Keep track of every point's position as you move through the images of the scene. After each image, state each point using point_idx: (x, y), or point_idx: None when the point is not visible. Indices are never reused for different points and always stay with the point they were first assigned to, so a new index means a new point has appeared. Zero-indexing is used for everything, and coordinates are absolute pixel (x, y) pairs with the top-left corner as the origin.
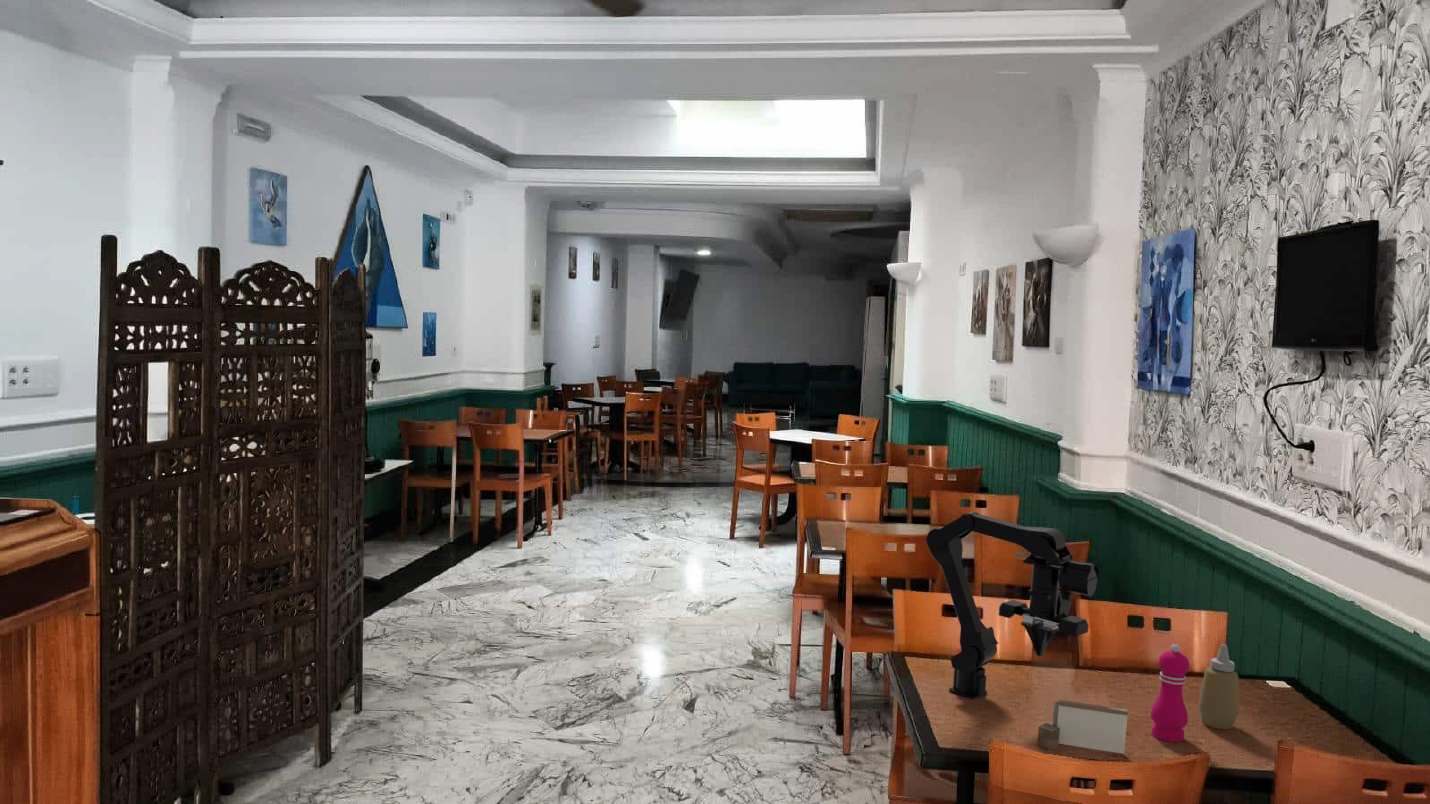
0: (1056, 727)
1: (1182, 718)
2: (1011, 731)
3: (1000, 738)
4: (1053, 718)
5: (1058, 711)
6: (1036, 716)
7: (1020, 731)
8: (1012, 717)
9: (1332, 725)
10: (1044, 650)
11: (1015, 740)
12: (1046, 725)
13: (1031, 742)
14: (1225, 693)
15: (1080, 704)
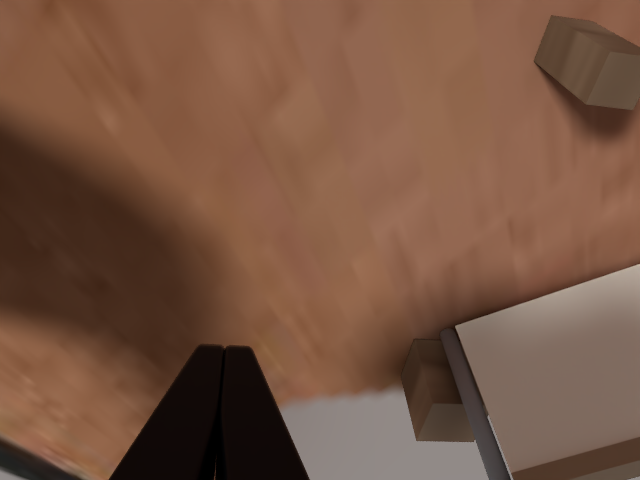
0: None
1: None
2: (276, 344)
3: None
4: (469, 420)
5: (500, 444)
6: (279, 124)
7: (303, 323)
8: (199, 226)
9: None
10: (274, 407)
11: (324, 389)
12: (441, 419)
13: (375, 369)
14: None
15: (631, 477)
